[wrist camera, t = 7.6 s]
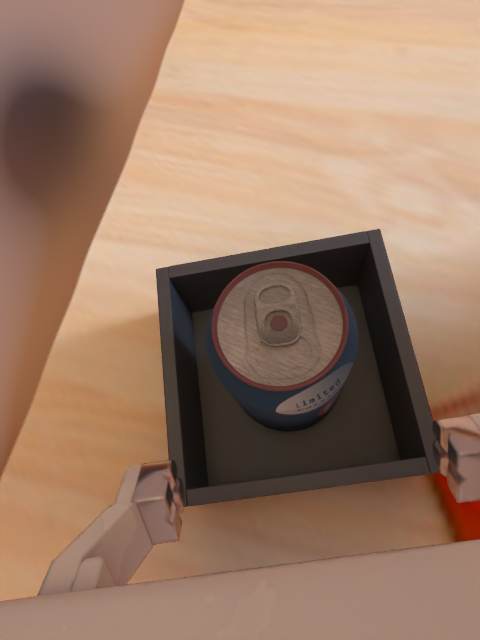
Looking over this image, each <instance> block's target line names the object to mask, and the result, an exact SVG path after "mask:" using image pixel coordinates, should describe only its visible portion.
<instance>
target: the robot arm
mask: <svg viewBox="0 0 480 640" xmlns="http://www.w3.org/2000/svg"><path fill="white" fill-rule="evenodd" d="M432 431H433V433H434V435H435V436H436V439H435V440H434V441H433V443H432V444H433V454H434V459H435V462H436V465H437V467H438V469H439V471H440V473H441V474H442V475H444V476H446V477H447V478H448V487H449V489H450V490H451V492H452V494H453V496H454V497H455V499H456V501H457V502H458V503H461V502H470V501H480V413H477V414H471V415H467V416H461V417H454V418H448V419H441V420H435V421H433V424H432ZM177 471H178V468H177V465H176V462H175V461H174V460H167V461H159V462H151V463H144V464H138V465H130V466H128V467H127V468H126V470H125V473H124V476H123V479H122V482H121V485H120V488H119V491H118V494H117V497H116V500H115V503H114V505H111V506H109V507H108V508H107V509H106V510H105V511H104V512H103V513H102V514H101V515H100V516H98V517H97V518H96V519H95V520H94V521H93V522H92V523H91V524H90V525H89V526H88V527H87V528H86V529H85V530H84V531H83V532H82V533H81V534H80V535H79V536H78V537H77V538H76V539H75V540H74V541H73V542H71V543H70V544H69V545H68V546H67V547H66V548H65V549H64V550H63V551H62V552H61V553H60V554H59V555H58V556H57V557H56V558H55V559H54V560H53V561H52V562H51V565H50V567H49V569H48V572H47V574H46V576H45V579H44V581H43V583H42V586H41V588H40V590H39V593H38V595H37V596H35V597H27V598H20V599H12V600H4V601H0V640H480V539H477V540H469V541H462V542H454V543H447V544H439V545H431V546H423V547H415V548H407V549H399V550H391V551H384V552H376V553H368V554H360V555H352V556H345V557H337V558H329V559H322V560H314V561H306V562H299V563H291V564H283V565H275V566H268V567H260V568H252V569H245V570H237V571H229V572H221V573H214V574H206V575H198V576H190V577H183V578H175V579H167V580H160V581H152V582H144V583H136V584H129V585H126V584H127V583H128V581H129V580H130V578H131V577H132V576H133V574H134V573H135V571H136V570H137V568H138V567H139V566H140V564H141V563H142V561H143V560H144V558H145V557H146V556H147V554H148V553H149V551H150V550H151V549H152V547H153V546H152V545H156V544H162V543H168V542H174V541H179V540H180V533H181V527H182V520H181V517H180V514H181V513H182V512H183V510H184V504H185V494H184V487H183V483H182V480H181V479H180V478H178V477H177Z"/></svg>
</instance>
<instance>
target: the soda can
mask: <svg viewBox="0 0 480 640" xmlns="http://www.w3.org/2000/svg"><path fill="white" fill-rule="evenodd" d="M206 347H207V353H208V358H209V361H210V364H211V366H212V369H213V371H214V373H215V374H216V376H217V378H218V379H219V381H220V382H221V383H222V384H223V386H224V387H225V388H226V389H227V390H228V391H229V393H230V394H231V395H232V396H233V397H234V399H235V400H236V401H237V402H238V403H239V404H240V406H241V407H242V408H243V409H244V410H245V412H246V413H247V414H248V415H249V416H250V417H251V418H252V419H254V420H255V421H256V422H258V423H259V424H261V425H263V426H265V427H268V428H270V429H274V430H278V431H298V430H302V429H305V428H308V427H310V426H313V425H314V424H316V423H318V422H319V421H321V420H322V419H323V418H324V417H325V416H326V415H327V414H328V413H329V412H330V411H331V410H332V408H333V407H334V405H335V403H336V401H337V399H338V397H339V395H340V393H341V390H342V388H343V386H344V384H345V381H346V379H347V377H348V375H349V373H350V370H351V368H352V366H353V364H354V361H355V358H356V354H357V349H358V327H357V322H356V319H355V316H354V313H353V310H352V308H351V306H350V304H349V303H348V301H347V299H346V298H345V297H344V295H343V294H342V293H341V292H340V291H339V289H338V288H337V287H335V286H334V285H333V284H332V283H331V281H330V280H328V279H327V278H326V277H325V276H324V275H323V274H321V273H320V272H318V271H316V270H315V269H313V268H311V267H308V266H306V265H303V264H299V263H295V262H288V261H273V262H267V263H263V264H259V265H256V266H254V267H251V268H249V269H247V270H245V271H244V272H242V273H241V274H239V275H238V276H236V277H235V278H234V279H233V280H232V281H231V282H230V283H229V284H228V285H227V286H226V287H225V289H224V290H223V292H222V293H221V295H220V297H219V298H218V300H217V303H216V304H215V306H214V308H213V310H212V312H211V315H210V318H209V321H208V325H207V332H206Z"/></svg>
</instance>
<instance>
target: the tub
mask: <svg viewBox="0 0 480 640" xmlns="http://www.w3.org/2000/svg"><path fill="white" fill-rule="evenodd" d="M273 261H288V262H295V263H299V264H303V265H306V266H308V267H311V268H313V269H315V270H316V271H318V272H320V273H321V274H323V275H324V276H325V277H326V278H327V279H328V280H330V281H331V283H332V284H333V285H334V286H335V287H337V288H338V289H339V291H340V292H341V293H342V294H343V295H344V297H345V298H346V299H347V301H348V303H349V304H350V306H351V308H352V310H353V313H354V316H355V319H356V322H357V327H358V349H357V354H356V358H355V361H354V364H353V366H352V368H351V370H350V373H349V375H348V377H347V379H346V381H345V384H344V386H343V388H342V390H341V393H340V395H339V397H338V399H337V401H336V403H335V405H334V407H333V408H332V410H331V411H330V412H329V413H328V414H327V415H326V416H325V417H324V418H323V419H322V420H321V421H319V422H318V423H316V424H314V425H313V426H310V427H308V428H305V429H302V430H298V431H278V430H274V429H270V428H268V427H265V426H263V425H261V424H259V423H258V422H256V421H255V420H254V419H252V418H251V417H250V416H249V415H248V414H247V413H246V412H245V410H244V409H243V408H242V407H241V406H240V404H239V403H238V402H237V401H236V400H235V399H234V397H233V396H232V395H231V394H230V393H229V391H228V390H227V389H226V388H225V387H224V386H223V384H222V383H221V382H220V381H219V379H218V378H217V376H216V374H215V373H214V371H213V369H212V366H211V364H210V361H209V358H208V353H207V347H206V332H207V325H208V321H209V318H210V315H211V312H212V310H213V308H214V306H215V304H216V303H217V300H218V298H219V297H220V295H221V293H222V292H223V290H224V289H225V287H226V286H227V285H228V284H229V283H230V282H231V281H232V280H233V279H234V278H235V277H236V276H238V275H239V274H241V273H242V272H244V271H245V270H247V269H249V268H251V267H254V266H256V265H259V264H263V263H267V262H273ZM156 278H157V293H158V307H159V322H160V336H161V351H162V365H163V380H164V394H165V409H166V423H167V438H168V452H169V460H174V461H175V462H176V465H177V468H178V471H177V477H178V478H180V479H181V480H182V483H183V487H184V494H185V504H184V507H187V506H195V505H203V504H210V503H218V502H225V501H232V500H240V499H247V498H255V497H262V496H269V495H277V494H284V493H292V492H299V491H306V490H314V489H321V488H329V487H336V486H344V485H351V484H358V483H366V482H373V481H381V480H388V479H395V478H403V477H410V476H418V475H425V474H432V473H440V471H439V469H438V467H437V465H436V462H435V459H434V454H433V444H432V443H433V441H434V440H435V439H436V436H435V435H434V433H433V431H432V424H433V418H432V415H431V411H430V408H429V404H428V400H427V397H426V393H425V390H424V386H423V382H422V379H421V375H420V372H419V368H418V364H417V361H416V357H415V354H414V350H413V346H412V343H411V339H410V336H409V332H408V328H407V325H406V321H405V317H404V314H403V310H402V307H401V303H400V299H399V296H398V292H397V289H396V285H395V281H394V278H393V274H392V271H391V267H390V263H389V260H388V256H387V253H386V249H385V245H384V242H383V238H382V235H381V231H380V229H376V230H371V231H367V232H366V231H365V232H359V233H353V234H348V235H342V236H337V237H331V238H325V239H320V240H314V241H309V242H303V243H297V244H292V245H286V246H281V247H275V248H270V249H264V250H258V251H253V252H247V253H242V254H236V255H230V256H225V257H219V258H214V259H208V260H203V261H197V262H191V263H186V264H180V265H175V266H169V267H165V268H159V269H156Z"/></svg>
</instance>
